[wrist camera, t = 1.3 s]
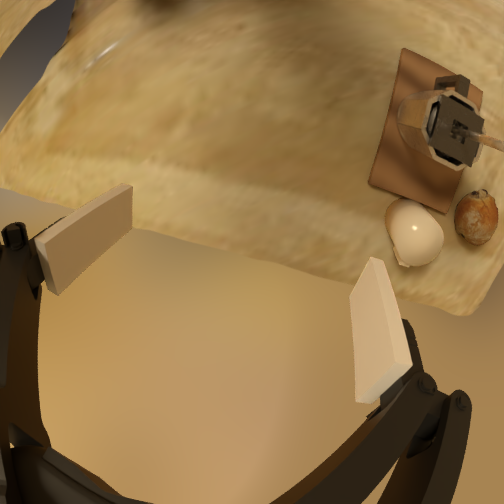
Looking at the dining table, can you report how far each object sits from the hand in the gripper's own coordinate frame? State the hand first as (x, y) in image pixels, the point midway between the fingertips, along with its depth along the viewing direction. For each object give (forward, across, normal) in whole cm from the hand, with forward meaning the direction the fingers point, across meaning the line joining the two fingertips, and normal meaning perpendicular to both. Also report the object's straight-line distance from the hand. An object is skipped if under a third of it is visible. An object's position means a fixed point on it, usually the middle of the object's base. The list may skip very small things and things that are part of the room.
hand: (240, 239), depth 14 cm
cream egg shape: (+32, +23, -5) cm, 40 cm away
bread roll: (+32, +36, +2) cm, 49 cm away
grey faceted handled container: (+31, +19, +13) cm, 38 cm away
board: (+32, +21, +11) cm, 40 cm away
